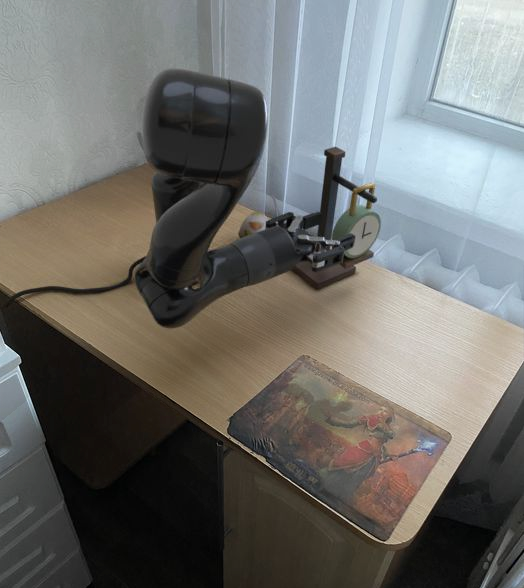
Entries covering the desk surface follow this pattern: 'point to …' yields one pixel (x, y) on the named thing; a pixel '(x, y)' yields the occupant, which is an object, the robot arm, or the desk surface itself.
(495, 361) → the desk surface
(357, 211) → the clock
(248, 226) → the spotted gourd
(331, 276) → the rack
